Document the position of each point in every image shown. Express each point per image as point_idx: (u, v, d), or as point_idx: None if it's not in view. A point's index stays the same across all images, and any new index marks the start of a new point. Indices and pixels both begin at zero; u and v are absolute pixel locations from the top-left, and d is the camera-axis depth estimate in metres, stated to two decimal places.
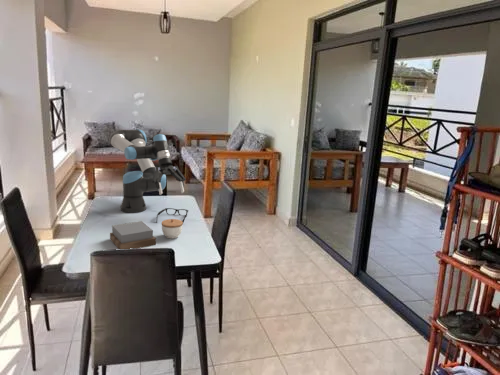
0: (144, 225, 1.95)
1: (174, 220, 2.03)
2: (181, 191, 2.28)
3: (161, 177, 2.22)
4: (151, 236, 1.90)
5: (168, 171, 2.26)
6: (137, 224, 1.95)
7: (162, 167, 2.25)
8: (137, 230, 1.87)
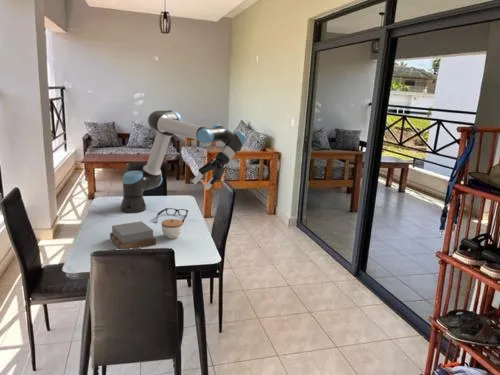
0: (144, 225, 1.95)
1: (174, 220, 2.03)
2: (194, 180, 2.10)
3: None
4: (151, 236, 1.90)
5: None
6: (137, 224, 1.95)
7: None
8: (138, 230, 1.87)
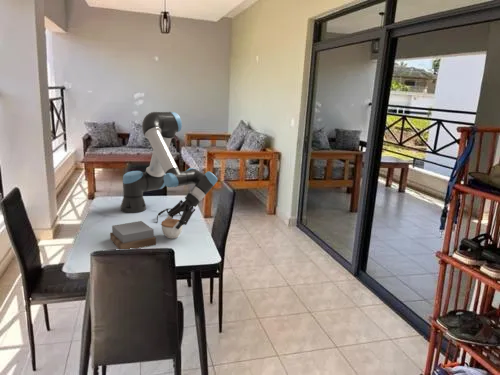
0: (144, 225, 1.95)
1: (174, 220, 2.03)
2: None
3: None
4: (152, 235, 1.90)
5: None
6: (138, 224, 1.95)
7: None
8: (138, 230, 1.87)
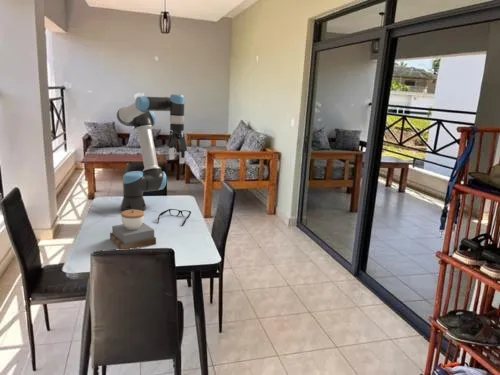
0: (144, 225, 1.95)
1: (135, 210, 1.92)
2: (170, 157, 2.24)
3: None
4: (152, 235, 1.90)
5: None
6: None
7: None
8: (139, 230, 1.88)
